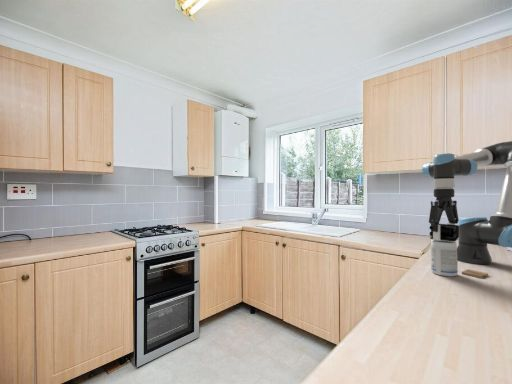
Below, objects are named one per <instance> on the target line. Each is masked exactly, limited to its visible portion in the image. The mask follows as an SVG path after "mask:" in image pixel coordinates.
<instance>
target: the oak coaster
mask: <svg viewBox="0 0 512 384" xmlns="http://www.w3.org/2000/svg"><path fill="white" fill-rule="evenodd" d="M461 275H464V276H468V277H469V276H470V277H473V278H476V279H477V278H478V279H484V278H487V277H489V273H488V272H484V271H483V272H482V271H478V270H474V269H469V268H468V269H465V270H463V271H461Z"/></svg>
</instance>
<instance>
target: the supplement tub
mask: <svg viewBox="0 0 512 384" xmlns="http://www.w3.org/2000/svg"><path fill="white" fill-rule="evenodd" d="M430 242H431V243H430V261H431V262H430V263H431V264H430V266H431V272H432V273H433V274H435V275H438V276H442V277H443V276H444V277H455V276H457V275H458V273H459V271H458V260H457V247H458V245H457V242H456V241H455V242H453V241H444V240H435V239H430Z"/></svg>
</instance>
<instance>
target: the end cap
mask: <svg viewBox="0 0 512 384" xmlns="http://www.w3.org/2000/svg"><path fill="white" fill-rule="evenodd" d="M439 225H440V240H444V241H453V242H456V241H457V240H459V226H458V225H459V224H455V225H449V224H447V223H446V224H445V223H439ZM429 230H430V232H429V236H430V238H429V239H430V240H437V239H433V224H430V225H429Z"/></svg>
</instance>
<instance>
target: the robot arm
mask: <svg viewBox="0 0 512 384" xmlns="http://www.w3.org/2000/svg"><path fill="white" fill-rule="evenodd" d="M497 165H498V166H499V165H503V166H504V167H505V168H506V171H505V176H504V179H503V182H502V187H501V191H500V193H499V194H500V195H499V197H498V202H497V207H496V209H495V213H494V214H492V215H490V217H489V220H488V218H487V216H485V217H482V216H481V217H477V216H476V217H461V218H459V214H458V207H457V206H458V205H457V202H458V201H457V200H453V199H452V198H454V197H455V177H457V176H458V177H459V176H465V177H466V176H472V175H474V174H475V173H476V172H477V170H478V167H487V166H497ZM421 172H422V175H423V176H424V177H426V178H433V188H434V189H433V197H435V200H431V201H430V211H429V217H428V218H429V219H428V223H429V224H430V225H431V224H433V239H432V240H435V239H437V240H440V225H439V224H440V222H441V218H442V215H443V212H445V215H446V217H447V220H448V222H447V223H446V224H449V225H458V226H459V238H458V245H457V261H459V262H464V263H469V264H475V265H492V262H493V261H492V260H493V259H492V256H491V254H490V252H489V251H490V250H489V249H488V245H491V246H492V245H493V246H498V247H502V248H512V140H510V141H503V142H498V143H494V144H492V145H489V146H485V147H482V148H478V149H477V150H475V151H474V152H471V153H466V154H461V155H458V156H455V154H454V153H450V152H449V153H438V154H435V155H434V156H433V162H428V163H424V164H423V165H422V167H421Z"/></svg>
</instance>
